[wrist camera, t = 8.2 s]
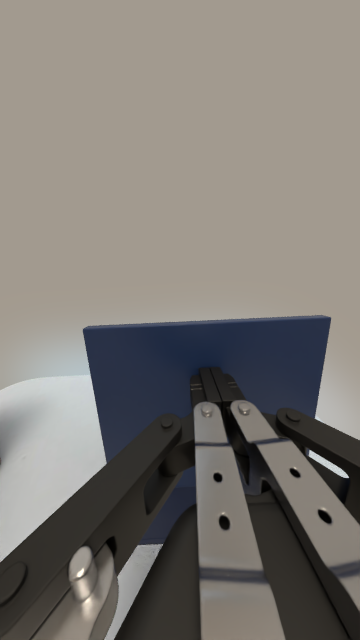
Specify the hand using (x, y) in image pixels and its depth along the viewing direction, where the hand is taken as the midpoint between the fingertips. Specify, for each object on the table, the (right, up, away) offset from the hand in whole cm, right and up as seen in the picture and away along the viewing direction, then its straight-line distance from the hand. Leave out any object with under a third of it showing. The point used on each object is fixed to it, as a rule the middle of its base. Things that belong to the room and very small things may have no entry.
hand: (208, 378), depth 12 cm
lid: (0, -3, +2) cm, 3 cm away
